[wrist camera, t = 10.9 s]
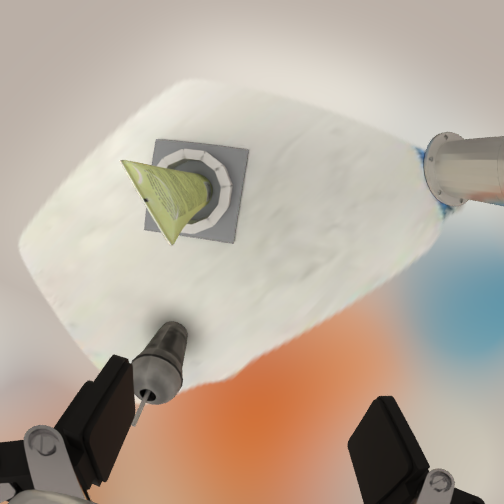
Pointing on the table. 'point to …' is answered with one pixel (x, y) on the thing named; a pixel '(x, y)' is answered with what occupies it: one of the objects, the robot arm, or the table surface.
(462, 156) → the robot arm
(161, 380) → the beverage cup
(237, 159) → the socket board
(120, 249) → the table surface
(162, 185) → the tube
